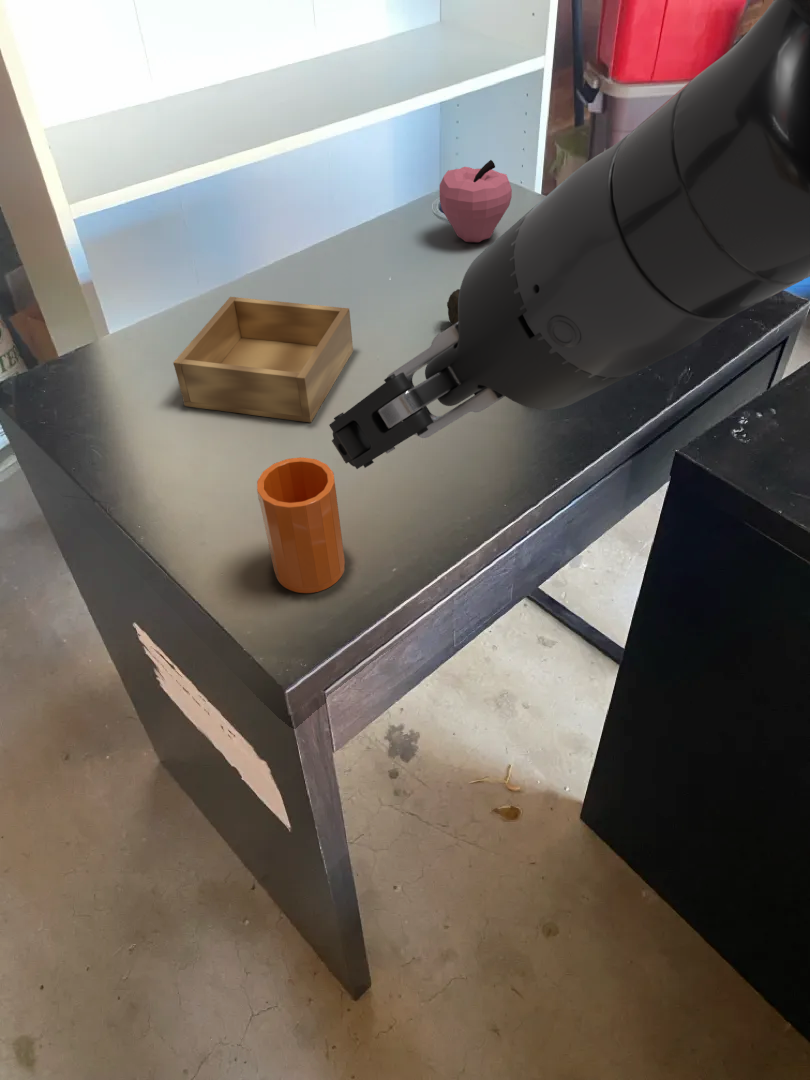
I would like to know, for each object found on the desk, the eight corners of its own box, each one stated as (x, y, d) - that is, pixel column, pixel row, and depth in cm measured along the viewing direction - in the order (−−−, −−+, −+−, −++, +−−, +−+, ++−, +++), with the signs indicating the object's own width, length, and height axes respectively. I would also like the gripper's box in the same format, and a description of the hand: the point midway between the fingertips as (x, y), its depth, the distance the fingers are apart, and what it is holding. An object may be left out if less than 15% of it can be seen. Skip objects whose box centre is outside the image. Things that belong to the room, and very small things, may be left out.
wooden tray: (184, 406, 83) (172, 362, 80) (238, 338, 93) (230, 296, 89) (311, 422, 80) (304, 378, 77) (353, 350, 90) (349, 308, 86)
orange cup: (264, 586, 65) (244, 500, 59) (290, 538, 69) (274, 452, 62) (331, 599, 64) (319, 511, 57) (354, 549, 67) (344, 462, 61)
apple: (480, 218, 114) (482, 142, 107) (523, 238, 109) (528, 159, 102) (425, 238, 110) (424, 160, 103) (468, 260, 105) (469, 179, 98)
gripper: (654, 143, 35) (454, 306, 49) (418, 259, 28) (264, 410, 42) (740, 299, 36) (519, 415, 50) (531, 449, 29) (343, 535, 43)
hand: (403, 413), depth 46 cm, fingers open, 8 cm apart
